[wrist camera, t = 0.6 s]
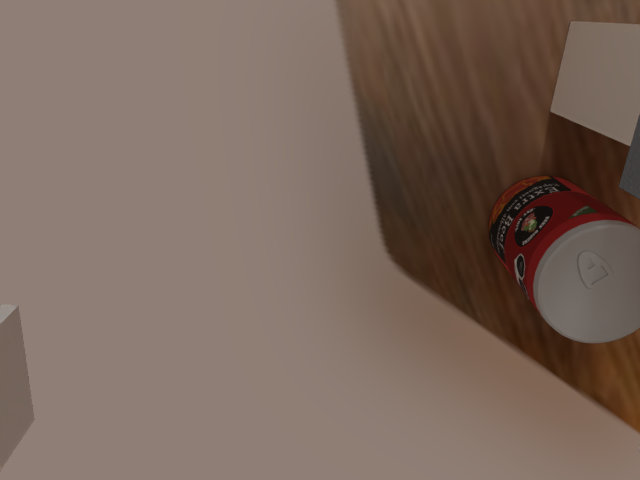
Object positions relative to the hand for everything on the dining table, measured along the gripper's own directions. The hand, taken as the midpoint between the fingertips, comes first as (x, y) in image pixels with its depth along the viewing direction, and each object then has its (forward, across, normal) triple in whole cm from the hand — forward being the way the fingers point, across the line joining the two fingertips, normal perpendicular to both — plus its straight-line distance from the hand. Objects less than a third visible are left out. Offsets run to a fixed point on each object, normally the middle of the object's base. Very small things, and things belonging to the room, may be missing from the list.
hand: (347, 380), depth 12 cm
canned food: (+32, +17, -7) cm, 37 cm away
